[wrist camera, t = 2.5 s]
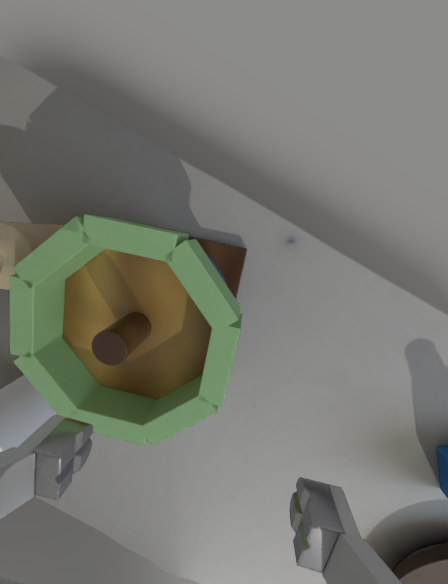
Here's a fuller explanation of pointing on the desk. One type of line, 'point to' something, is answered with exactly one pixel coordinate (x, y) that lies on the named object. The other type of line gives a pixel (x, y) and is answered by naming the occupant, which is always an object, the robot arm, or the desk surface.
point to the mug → (21, 412)
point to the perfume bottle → (443, 468)
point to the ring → (68, 367)
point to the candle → (20, 245)
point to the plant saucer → (424, 566)
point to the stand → (141, 319)
